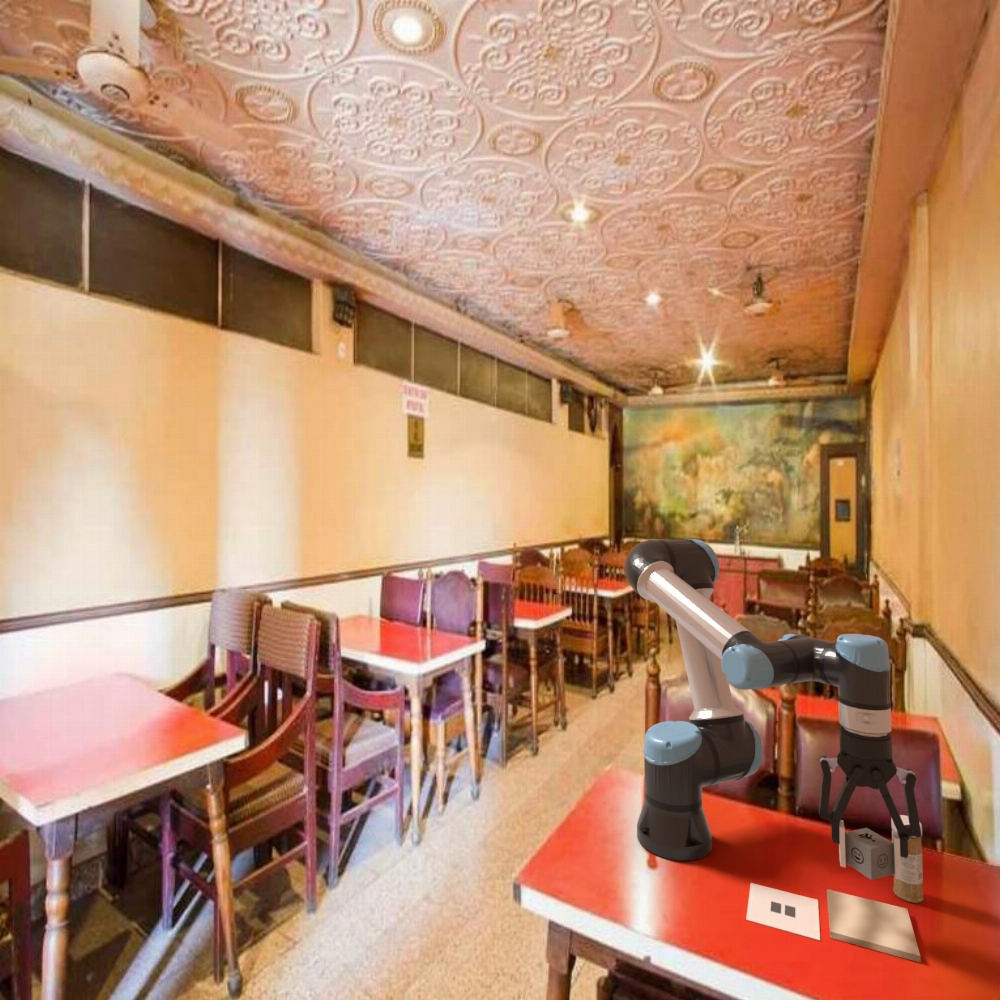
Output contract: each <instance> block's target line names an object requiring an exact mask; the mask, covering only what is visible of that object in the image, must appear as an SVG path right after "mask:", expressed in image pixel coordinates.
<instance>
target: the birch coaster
mask: <svg viewBox="0 0 1000 1000" xmlns="http://www.w3.org/2000/svg"><path fill="white" fill-rule="evenodd" d="M826 899H827V900H826V901H827V912H828V913H829V914H828V924H829V926H828V927H829V937H830V939H834V940H837V941H841V942H845V943H848V944H852V945H856V946H859V947H862V948H865V949H869V950H873V951H877V952H881V953H884V954H889V955H891V956H895V957H899V958H902V959H907V960H909V961H914V962H917V963H921V961H922V960H921V954H920V953H921V952H920V950H919V947H918V942H917V940H916V935H915V932H914V928H913V925H912V924H913V923H912V921H911V918H910V915H909V911H908V908H905V907H901V906H897V905H892V904H889V903H885V902H881V901H878V900H873V899H868V898H865V897H860V896H856V895H852V894H849V893H848V894H847V893H845V892H840V891H836V890H832V889H829V888H828V889H826Z"/></svg>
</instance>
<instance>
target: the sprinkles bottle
mask: <svg viewBox="0 0 1000 1000" xmlns="http://www.w3.org/2000/svg"><path fill="white" fill-rule="evenodd" d="M899 815H900V817H901V819H902V821H903V824H904V825H910V824H909V819H908V815H904V814H899ZM890 821H891V822H890V824H891V831H892V830H895V831H897V829H896V827H895V824H894V822H893V820H892V817H891V818H890ZM919 823H920V829H921V837H915V836H912V837H909V840H908V857H907V858H904V857H900V862H901V880H899V879H895V875H894V874H893V887H892V888H893V892H894V894H895V896H897V897H898V898H899V899H902V900H903V901H905V902H908V903H915V904H918V903H922V902H923V901H924V900H925V899H924V895H923V891H924V889H923V888H924V887H923V882H924V881H923V880H924V878H923V876H924V874H923V851H922V837H923V825H922V823H921V822H920V821H919Z"/></svg>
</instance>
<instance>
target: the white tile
mask: <svg viewBox="0 0 1000 1000" xmlns="http://www.w3.org/2000/svg"><path fill="white" fill-rule="evenodd" d="M749 886H750V887H749V895H748V902H747V910H746V917H745V918H746V919H745V920H746V921H749V922H752V923H755V924H759V925H763V926H766V927H769V928H774V929H777V930H779V931H785V932H788V933H791V934H795V935H797V936H798V935H799V936H802V937H805V938H809V939H813V940H816V941H821V931H820V913H819V900H818V899H816V898H811V897H808V896H804V895H799V894H795V893H791V892H788V891H785V890H784V891H783V890H780V889H777V888H772V887H768V886H765V885H760V884H757V883H753V882H750V885H749Z"/></svg>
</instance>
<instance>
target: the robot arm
mask: <svg viewBox="0 0 1000 1000" xmlns="http://www.w3.org/2000/svg"><path fill="white" fill-rule="evenodd" d="M719 573H720V561H719V558H718V556H717V553H716V552H715V550H714V548H712V546H710V545H709V544H708V543H706V542H705V541H704V540H701V539H695V538H685V537H684V538H670V539H648V540H644V541H641V542H639V543H638V544H636V545H635V546H633V547H632V548H631V549H630V551H629V552H628V554H627V556H626V559H625V563H624V574H625V577H626V580H627V582H628V584H629V585H630V586H631V588H632V590H634V591H635V592H636V594H638V595H639V596H640V597H641V598H643V599H644V600H647V601H653V602H654V603H655V604H656V605H657V606H659V607H660V608H661V609H662V610H663V611H664V612H666V614H668V615H669V616H670V617H671V618H672V619H674V621H675V624H676V627H677V633H678V639H679V644H680V647H681V653H682V657H683V662H684V666H685V670H686V672H685V673H686V677H687V680H688V687H689V691H690V695H691V699H692V704H693V711H692V713H691V714H690V715H689V721H684V720H683V721H682V720H676V721H673V720H666V721H661V722H658V723H656V724H653V725H652V726H651V727H649V728H648V729H647V731H646V732H645V734H644V742H643V743H644V745H643V750H642V753H643V756H644V758H643V759H644V762H643V764H644V767H643V768H644V801H643V804H642V806H641V807H642V808H641V810H640V813H639V817H638V820H637V824H636V837H637V840H638V842H639V844H640V845H641V846H642V847H643V848H644V849H646V850H647V852H650V853H652V854H654V855H656V856H658V857H662V858H664V859H667V860H673V861H694V860H698V859H703V858H704V857H706V856H707V855H708V854H709V853H711V851H712V848H713V841H712V839H713V838H712V837H713V836H712V832H711V828H710V826H709V823H708V820H707V817H706V814H705V811H704V808H703V788H704V787H708V786H714V785H716V784H721V783H726V782H731V781H740V780H742V779H744V778H748V777H750V776H752V775H755V773H757V771H758V770H759V768H760V766H761V765H762V762H763V758H764V746H763V742H762V737H761V736H760V733H759V731H758V730H756V729H755V726H754V725H753V724H752V723H751V722H750V721H748V720H745V716H744V712H743V711H742V710H740V709H739V708H738V707H736V706H735V704H734V700H733V696H732V692H731V688H730V687H731V686H732V687H734V688H736V689H738V690H742V691H743V690H744V691H745V690H762V689H766V688H771V687H777V686H778V687H779V686H784V685H791V684H796V683H797V684H798V683H804V682H809V681H810V682H812V681H813V682H819V683H822V684H826V685H828V686H833V687H837V694H838V695H837V696H838V702H837V703H838V722H839V725H841V726H840V727H839V729H838V730H839V753H838V754H837V756H836V757H827V756H825V755H822V756H820V758H819V761H820V767H821V770H822V776H821V783H820V784H821V785H820V793H819V794H820V795H819V803H818V805H819V806H818V815H819V817H820V819H822V820H826V821H828V822H829V823H830V833H831V840H832V843H833V844H837V845H839V846H838V849H839V850H838V851H839V852H838V853H839V854H838V855H839V856H838V857H839V865H840V867H841V868H846V867H847V864H846V858H845V832H846V831H845V829H846V828H845V823H844V820H842V819H843V817H844V814H845V812H846V810H847V808H848V806H849V805H848V804H849V802H850V800H851V798H852V795H853V793H854V792H855V791H856V788H857V787H860V788H865V787H866V788H870V789H872V790H879V792H880V795H881V797H882V798H883V802H884V803H885V806H886V808H887V810H888V813H889V815H890V817H891V818H892V820H893V822H894V824H895V827H896V829H897V831H895V830H892V829H891V842H893V845H894V874H893V876H894V875H895V879H899V880H901V862H900V857H904V858H907V857H908V840H909V837H912V836H915V837H921V829H920V823H921V822H920V819H919V813H918V812H919V811H918V805H917V801H916V795H915V786H916V782H917V777H916V774H915V773H914V770H913V769H911V768H907V769H904V768H902V767H898V766H896V763H895V762H894V757H893V736H892V734H891V733H890V732H892V709H891V688H890V687H891V668H892V667H891V662H890V656H889V646H888V643H887V642H886V641H885V639H883V638H881V637H878V636H875V635H870V634H869V635H868V634H860V633H844V634H840V635H839V636H838V637H837V638H836V642H835V641H830V640H824V639H820V638H816V637H812V636H808V635H805V634H794V633H788V634H784V635H783V636H781V638H779V639H778V640H773V641H764V640H762V639H761V638H759V637H758V636H757V635H756V634H754V633H753V632H751V631H750V630H749V629H747V628H746V627H745V626H743V625H742V624H741V623H740V622H738V621H737V620H736V619H734V618H733V617H732V616H730V615H729V614H728V613H726V612H725V611H724V610H723V609H721V608H720V607H719V606H718V605H716V604H715V603H714V602H713V601H711V600H710V598H711V596H712V595H713V593H714V592H715V588H714V583H716V581H717V580H718V578H719V575H718V574H719ZM730 685H731V686H730ZM838 766H839V768H840V769H841V771H842V772H843V773H844V774H845V778H844V781H843V785H842V787H841V788H840V791H839V793H838V796H837V798H836V801H835V803H834V805H833V808H832V809H831V810H830V809H829V804H830V795H831V785H832V773H834V772H835V771H836V767H838ZM895 775H896V776H897V777H898V780H899V782H900V783H901V784H902V788H903V793H904V800H905V806H906V812H907V816H908V819H909V824H910V825H904V824H903V821H902V819H901V817H900V815H901V814H900V813H899V811H898V808H897V806H896V804H895V802H894V799H893V797H892V794H891V792H890V789H889V787H888V785H887V784H888V783H889V782H890V780H892V779H893V777H894V776H895ZM919 822H920V823H919ZM921 838H922V837H921Z"/></svg>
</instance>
